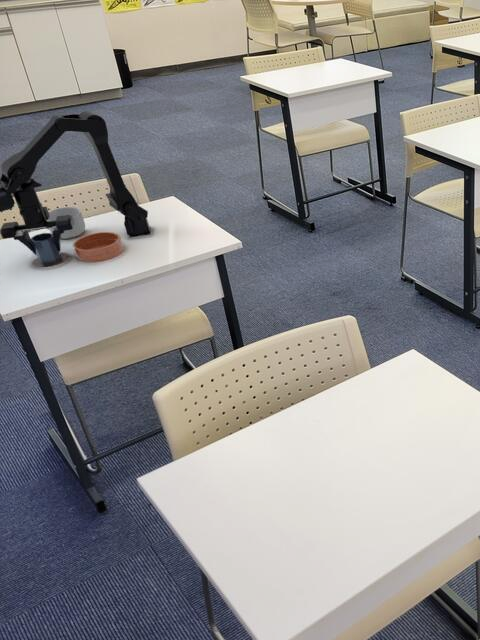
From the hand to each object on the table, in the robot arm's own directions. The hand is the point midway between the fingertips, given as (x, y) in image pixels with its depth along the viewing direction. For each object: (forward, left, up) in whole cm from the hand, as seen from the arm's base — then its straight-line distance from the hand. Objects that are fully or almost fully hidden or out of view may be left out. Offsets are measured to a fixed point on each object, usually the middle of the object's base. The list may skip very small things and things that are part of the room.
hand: (48, 252), depth 211 cm
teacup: (-2, -19, -3) cm, 19 cm away
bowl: (-14, 0, -3) cm, 14 cm away
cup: (0, 0, -2) cm, 2 cm away
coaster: (0, 0, -3) cm, 3 cm away
